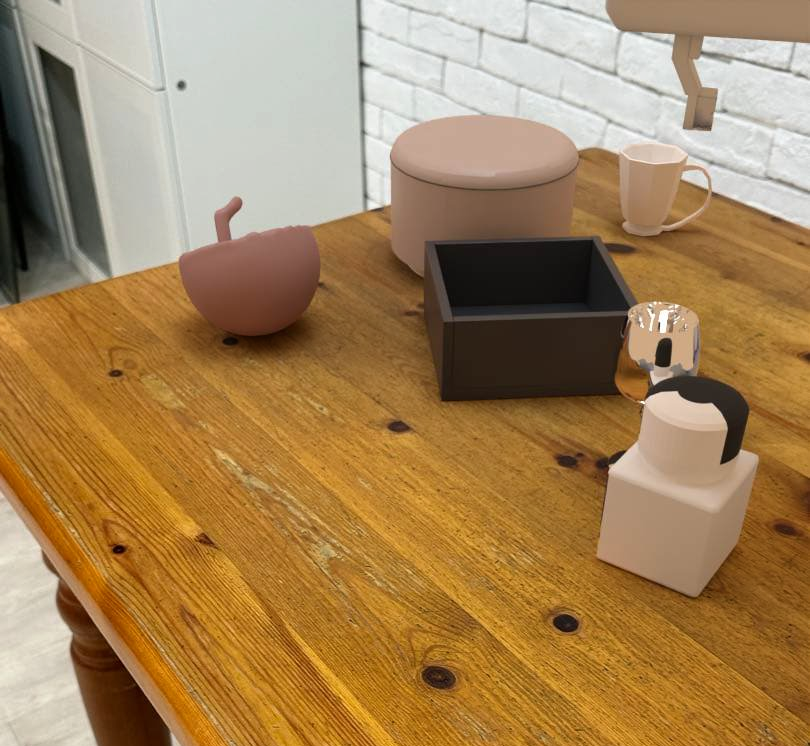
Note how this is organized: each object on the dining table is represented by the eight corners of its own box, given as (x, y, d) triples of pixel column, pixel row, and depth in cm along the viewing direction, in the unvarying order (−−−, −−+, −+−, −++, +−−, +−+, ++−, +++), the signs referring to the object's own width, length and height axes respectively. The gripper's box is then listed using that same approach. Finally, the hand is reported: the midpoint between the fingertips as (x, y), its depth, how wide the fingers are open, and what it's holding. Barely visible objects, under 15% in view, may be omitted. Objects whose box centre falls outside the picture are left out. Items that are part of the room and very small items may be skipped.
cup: (609, 214, 115) (619, 139, 110) (702, 219, 114) (716, 144, 109) (609, 239, 110) (619, 161, 105) (706, 245, 109) (721, 167, 104)
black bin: (590, 308, 97) (599, 235, 93) (632, 393, 85) (644, 314, 81) (423, 313, 96) (424, 240, 92) (441, 401, 84) (443, 321, 80)
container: (362, 240, 109) (359, 124, 102) (512, 213, 115) (520, 102, 108) (439, 310, 97) (442, 184, 89) (603, 275, 103) (618, 155, 95)
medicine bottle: (640, 506, 73) (668, 352, 65) (739, 543, 70) (779, 385, 62) (593, 559, 68) (616, 399, 61) (696, 601, 65) (734, 438, 58)
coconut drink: (285, 288, 100) (276, 168, 93) (347, 338, 92) (343, 211, 85) (167, 318, 95) (149, 194, 88) (223, 374, 87) (207, 242, 80)
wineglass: (625, 497, 74) (651, 344, 66) (583, 455, 78) (602, 306, 70) (693, 478, 75) (725, 327, 68) (648, 439, 80) (674, 292, 72)
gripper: (1114, -194, 45) (999, 134, 54) (636, -205, 49) (600, 102, 58) (1157, -184, 40) (1024, 174, 49) (623, -196, 44) (586, 137, 53)
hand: (791, 135), depth 53 cm, fingers open, 8 cm apart
